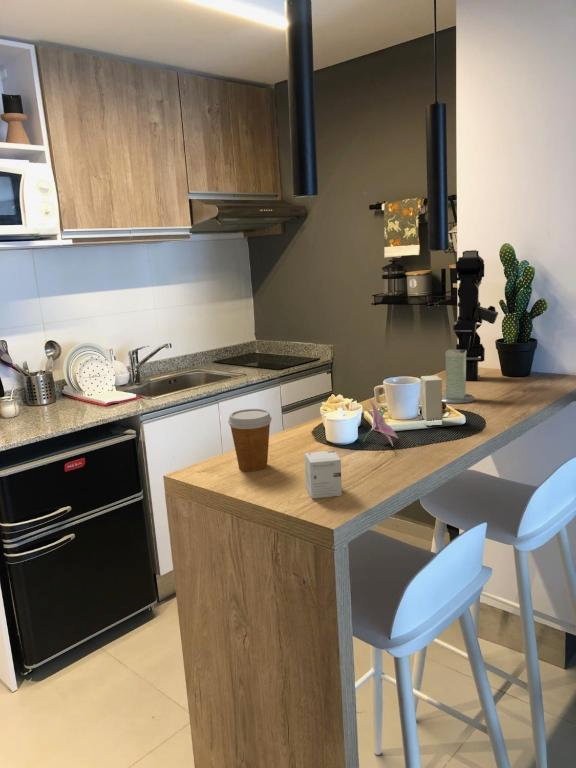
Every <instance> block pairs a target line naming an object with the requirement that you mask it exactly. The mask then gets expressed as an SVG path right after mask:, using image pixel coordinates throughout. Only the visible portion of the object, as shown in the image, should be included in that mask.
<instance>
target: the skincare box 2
mask: <svg viewBox="0 0 576 768" xmlns="http://www.w3.org/2000/svg"><path fill="white" fill-rule="evenodd" d="M442 382H443V379H442V378H441V377H439V375H437V374H435V375H421V376H420V393H421V394H420V395H421V396H420V397H421V417H422V416H423V418H424V419H425V420H426V421H432V420H433V421H434V420H443V419H444V418H443V403H442V394H443V388H442V387H443V385H442V384H443V383H442ZM443 421H444V420H443Z"/></svg>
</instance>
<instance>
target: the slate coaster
mask: <svg viewBox="0 0 576 768" xmlns="http://www.w3.org/2000/svg"><path fill="white" fill-rule="evenodd" d="M475 400H476V397H475V396H474V395H472V394H468V393H466V396H465V398H464V400H449V399H446V393H442V401H443V402H445V403H444V404H447V405H463V404H464V405H465V404H470V403H471V404H472V403H473V402H475Z"/></svg>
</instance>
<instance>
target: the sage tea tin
mask: <svg viewBox="0 0 576 768" xmlns="http://www.w3.org/2000/svg"><path fill="white" fill-rule="evenodd" d="M466 353H467V350H456V349H447V350H446V351H445V354H444V355H445V394H446V399H449V400H464V398H465V396H466V394H467V392H466V391H467V380H466Z"/></svg>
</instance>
